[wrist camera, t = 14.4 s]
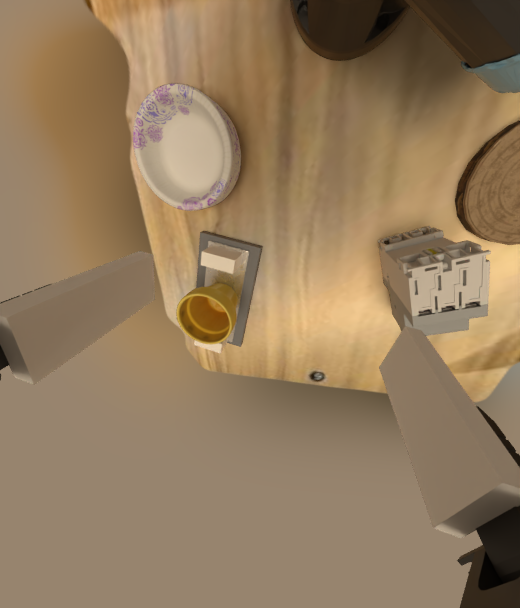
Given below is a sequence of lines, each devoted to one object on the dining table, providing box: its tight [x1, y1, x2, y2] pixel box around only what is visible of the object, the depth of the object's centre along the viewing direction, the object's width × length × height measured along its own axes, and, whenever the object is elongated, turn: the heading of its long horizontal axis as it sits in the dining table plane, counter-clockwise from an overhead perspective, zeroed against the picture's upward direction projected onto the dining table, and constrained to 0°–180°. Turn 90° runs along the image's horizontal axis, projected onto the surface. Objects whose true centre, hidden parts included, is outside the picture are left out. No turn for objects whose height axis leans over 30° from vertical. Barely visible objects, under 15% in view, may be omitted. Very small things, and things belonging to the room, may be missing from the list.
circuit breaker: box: [378, 226, 491, 336], centre depth 34 cm, size 8×14×15 cm, turn 20°
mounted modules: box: [194, 245, 243, 353], centre depth 46 cm, size 21×6×5 cm, turn 168°
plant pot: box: [176, 283, 238, 344], centre depth 44 cm, size 10×10×10 cm
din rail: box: [204, 240, 250, 342], centre depth 49 cm, size 22×8×1 cm, turn 168°
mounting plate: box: [196, 231, 262, 347], centre depth 50 cm, size 24×12×2 cm, turn 168°
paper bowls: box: [133, 83, 241, 211], centre depth 36 cm, size 15×15×8 cm
